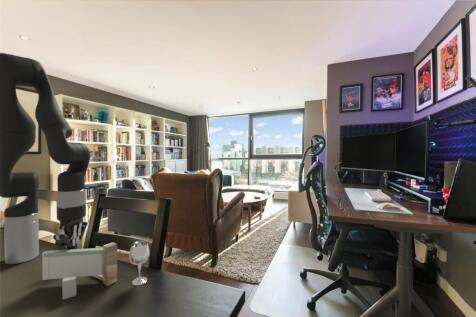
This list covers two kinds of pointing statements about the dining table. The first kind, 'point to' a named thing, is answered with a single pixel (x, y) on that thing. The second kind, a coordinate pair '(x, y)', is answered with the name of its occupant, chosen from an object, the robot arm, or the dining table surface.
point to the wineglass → (139, 258)
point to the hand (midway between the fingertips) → (72, 255)
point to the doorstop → (69, 286)
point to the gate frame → (107, 263)
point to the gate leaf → (72, 263)
